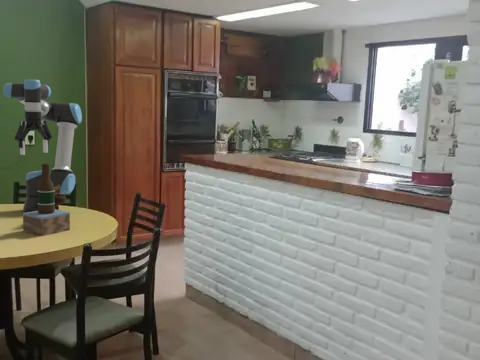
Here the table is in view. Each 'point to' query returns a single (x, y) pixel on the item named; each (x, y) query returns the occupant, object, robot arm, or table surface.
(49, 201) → the beer bottle
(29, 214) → the lid
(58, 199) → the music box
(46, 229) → the box
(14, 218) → the table surface
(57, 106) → the robot arm
